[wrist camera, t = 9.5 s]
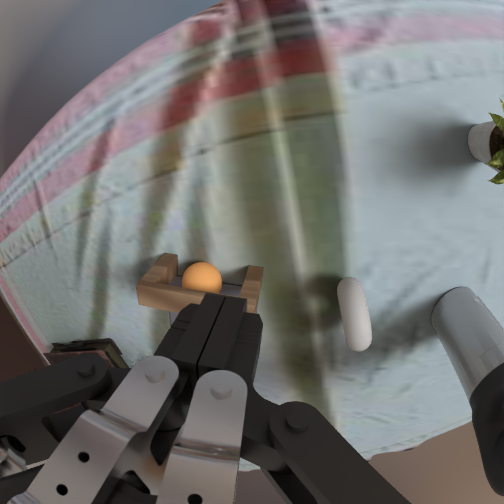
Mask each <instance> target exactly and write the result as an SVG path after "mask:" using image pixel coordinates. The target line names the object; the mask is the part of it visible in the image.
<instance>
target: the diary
mask: <svg viewBox="0 0 504 504" xmlns="http://www.w3.org/2000/svg"><path fill="white" fill-rule="evenodd" d="M72 343H76V344H71V345H64V344H58V343H52V345H53V346H54V348H53V349H52V350H51V352H50V353H43V355H44V356H45V357H46V359H47V360H48V361H49V363H50V364H51V365H52V364H55V363H58V362H61V361H64V360H66V359H69V358H72V357H75V356H77V355H80V354H85V353H93V354H97V355H99V356H101V357H102V358H103V359H104V360H105V362H106V364H107V367H108V368H129V367H128V365H127V364H126V363H125V361H124V360H123V358H122V357H121V356H120V355H121V354H122V353H121V351H120V350H119V348H118V347H117V345H116V344H115V343H114V341H113V340H111V339H109V338H107V339H96V340H85V341H73V342H72Z"/></svg>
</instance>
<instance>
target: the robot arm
mask: <svg viewBox="0 0 504 504" xmlns="http://www.w3.org/2000/svg"><path fill="white" fill-rule="evenodd" d="M431 321H432V325H433V327H434V329H435V331H436V333H437V335H438V337H439V339H440V341H441V343H442V345H443V347H444V349H445V351H446V352H447V354H448V356H449V359H450V361H451V363H452V365H453V367H454V369H455V371H456V373H457V375H458V377H459V380H460V382H461V384H462V386H463V388H464V391H465V393H466V395H467V398H468V400H469V403H470V405H471V408H472V422H473V427H474V430H475V433H476V437H477V441H478V445H479V449H480V453H481V458H482V462H483V467H484V471H485V474H486V477H487V480H488V482H489V484H490V486H491V488H492V489H493V490H494V491H495V492H496V493H497V494H499V495H501V496H504V330H503V328H502V326H501V325H500V324H499V322H498V321H497V320H496V318H495V317H494V316H493V314H492V313H491V312H490V310H489V309H488V308H487V307H486V305H485V304H484V303H483V302H482V300H481V299H480V298H479V297H477V296H476V295H475V294H474V293H473V291H472V290H471V289H469V288H467V287H458V288H455V289H453V290H451V291H449V292H448V293H446V294H445V295H444V296H443V297H442V298H441V299H440V300H439V301H438V303H437V304H436V306H435V308H434V310H433V313H432V317H431ZM262 328H263V323H262V320H261V318H260V315H259V314H255V313H248V312H247V298H241V297H234V296H226V295H221V294H215V293H208V292H207V293H206V294H205V295H204V297H203V299H202V301H201V303H200V305H199V304H194V303H190V304H189V305H187V306H186V307H184V308H183V309H182V310H181V311H180V312H179V314H178V315H177V317H176V319H175V321H174V322H173V324H172V325H171V328H170V329H169V330H168V332H167V334H166V335H165V337H164V339H163V340H162V342H161V344H160V345H159V347H158V349H157V350H156V352H155V354H154V355H153V356H149V357H145V358H143V359H141V360H139V361H138V362H137V363H136V364H135V365H134V366H133V368H108V367H107V364H106V362H105V360H104V359H103V358H102V357H101V356H99V355H97V354H93V353H85V354H80V355H77V356H75V357H72V358H69V359H66V360H64V361H61V362H58V363H55V364H52V365H49V366H46V367H44V368H41V369H38V370H35V371H32V372H29V373H26V374H23V375H20V376H17V377H14V378H11V379H8V380H5V381H2V382H0V504H234V500H235V493H236V484H237V477H238V469H239V461H240V457H241V458H243V459H245V460H247V461H249V462H251V463H253V464H256V465H258V466H260V468H261V470H262V472H263V473H264V474H265V476H266V477H267V478H268V480H269V481H270V483H271V484H272V485H273V487H274V488H275V489H276V490H277V492H278V493H279V495H280V496H281V497H282V498H283V500H284V501H285V502H286V503H287V504H411V503H410V502H409V501H408V500H406V498H405V497H403V496H402V495H401V494H400V493H399V492H398V491H397V490H396V489H395V488H394V487H393V486H392V485H391V484H390V483H388V482H387V481H386V480H385V479H384V478H383V477H382V476H381V475H380V474H379V473H378V472H377V471H376V470H375V469H374V468H373V467H372V466H371V465H370V464H369V463H368V462H367V461H366V460H365V459H364V458H363V457H362V456H361V455H360V454H359V453H358V452H357V451H356V450H355V449H354V448H353V447H352V446H351V445H350V444H349V443H348V442H347V441H346V440H345V439H344V438H343V437H342V435H341V434H340V433H339V432H338V431H337V430H336V429H335V428H334V427H333V426H332V425H331V424H330V423H329V422H328V421H327V420H326V419H325V417H324V416H323V415H322V414H321V413H320V412H319V411H318V410H317V409H316V408H315V407H313V406H311V405H309V404H307V403H304V402H297V401H293V402H286V403H284V404H281V405H277V404H275V403H272V402H270V401H268V400H266V399H264V398H263V397H261V396H260V395H259V394H258V393H257V392H256V391H255V389H254V387H253V382H254V378H255V373H256V368H257V363H258V358H259V352H260V344H261V336H262ZM78 403H81V405H78V406H75V407H73V408H70V409H67V410H65V411H62V412H59V413H56V414H52V413H54V412H56V411H59V410H62V409H65V408H67V407H70V406H73V405H75V404H78ZM46 459H48V460H47V462H46V463H45V464H42V465H40V466H37V467H34V468H31V469H27V468H26V467H25V466H26V465H30V464H33V463H37V462H40V461H43V460H46Z"/></svg>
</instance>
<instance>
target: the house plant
mask: <svg viewBox="0 0 504 504" xmlns="http://www.w3.org/2000/svg"><path fill="white" fill-rule="evenodd" d="M500 101H501V103H502V107H503V110H504V103H503V101H502V100H501V99H500ZM489 114H490V115H491V117H492V119H493V121H491V122H486V123H481V124H477V125H475V126H473V127H472V128H471V129H470V131H469V134H468V146H469V149H470V151H471V153H472V155H473V156H474V157H475V158H476V159H478V160H480V161H481V162H483V163H485V164H486V165H488V166H489V167H491V168H493V169H494V170H496V171H497V172H499V173H498V174H497V175H496V176H495V177H494V178H493V179H491V180H488V181H491V182H493V183H495V184H502V183H504V119H503V118H502V117H501V116H499V115H496V114H491V113H489Z"/></svg>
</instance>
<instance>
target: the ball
mask: <svg viewBox="0 0 504 504" xmlns="http://www.w3.org/2000/svg"><path fill="white" fill-rule="evenodd" d="M182 287H183V288H188V289H194V290H200V291H206V292H212V293H218V294H219V292H220V290H221V287H222V278H221V275H220V273H219V271H218V270H217V268H216V267H214V266H213V265H211V264H209V263H206V262H198V263H194V264H192V265H191V266H189V267H188V268H187V269H186V271H185V272H184V274H183V277H182Z"/></svg>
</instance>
